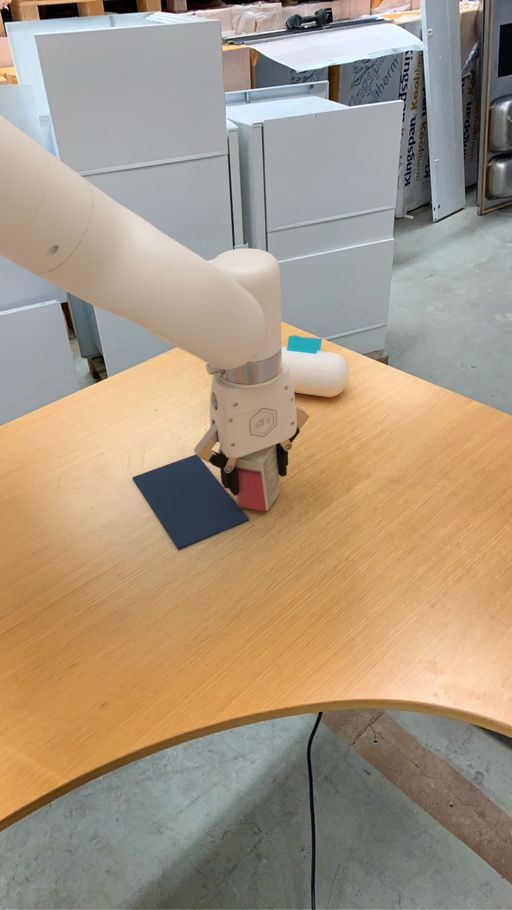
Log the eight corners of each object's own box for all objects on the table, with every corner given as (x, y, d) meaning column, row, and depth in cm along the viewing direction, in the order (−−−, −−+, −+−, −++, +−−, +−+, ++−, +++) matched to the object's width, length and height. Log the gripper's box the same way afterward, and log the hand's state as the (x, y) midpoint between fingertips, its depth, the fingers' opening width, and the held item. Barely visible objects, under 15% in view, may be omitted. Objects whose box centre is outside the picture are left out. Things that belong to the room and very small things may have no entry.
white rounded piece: (348, 344, 100) (273, 335, 103) (341, 402, 102) (268, 392, 105) (360, 338, 111) (291, 331, 114) (353, 391, 113) (286, 383, 116)
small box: (253, 486, 90) (246, 436, 86) (281, 491, 88) (276, 440, 84) (237, 507, 86) (229, 456, 82) (267, 512, 84) (260, 460, 80)
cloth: (178, 550, 81) (178, 547, 81) (132, 479, 92) (132, 477, 92) (249, 520, 85) (249, 518, 84) (196, 456, 96) (196, 453, 96)
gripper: (194, 397, 69) (208, 520, 80) (330, 354, 76) (326, 473, 87) (167, 367, 75) (183, 486, 86) (296, 328, 81) (296, 444, 92)
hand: (255, 478), depth 86 cm, fingers closed on small box, 6 cm apart
